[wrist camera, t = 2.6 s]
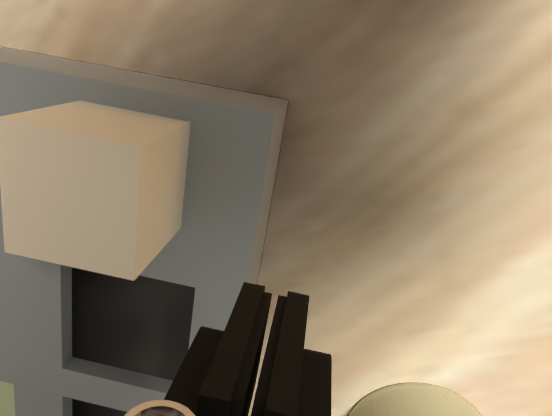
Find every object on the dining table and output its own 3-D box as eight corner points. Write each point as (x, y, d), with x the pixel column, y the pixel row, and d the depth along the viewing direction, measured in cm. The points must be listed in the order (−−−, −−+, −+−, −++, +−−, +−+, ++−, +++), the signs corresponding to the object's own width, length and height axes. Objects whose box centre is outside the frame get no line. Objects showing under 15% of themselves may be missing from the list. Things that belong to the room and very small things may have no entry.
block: (79, 100, 19) (-5, 117, 14) (190, 121, 19) (141, 146, 14) (79, 206, 21) (4, 252, 16) (180, 228, 21) (134, 280, 16)
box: (-102, 27, 24) (-207, 22, 20) (288, 100, 23) (275, 113, 18) (-53, 390, 34) (-116, 445, 29) (227, 460, 32) (207, 529, 27)
